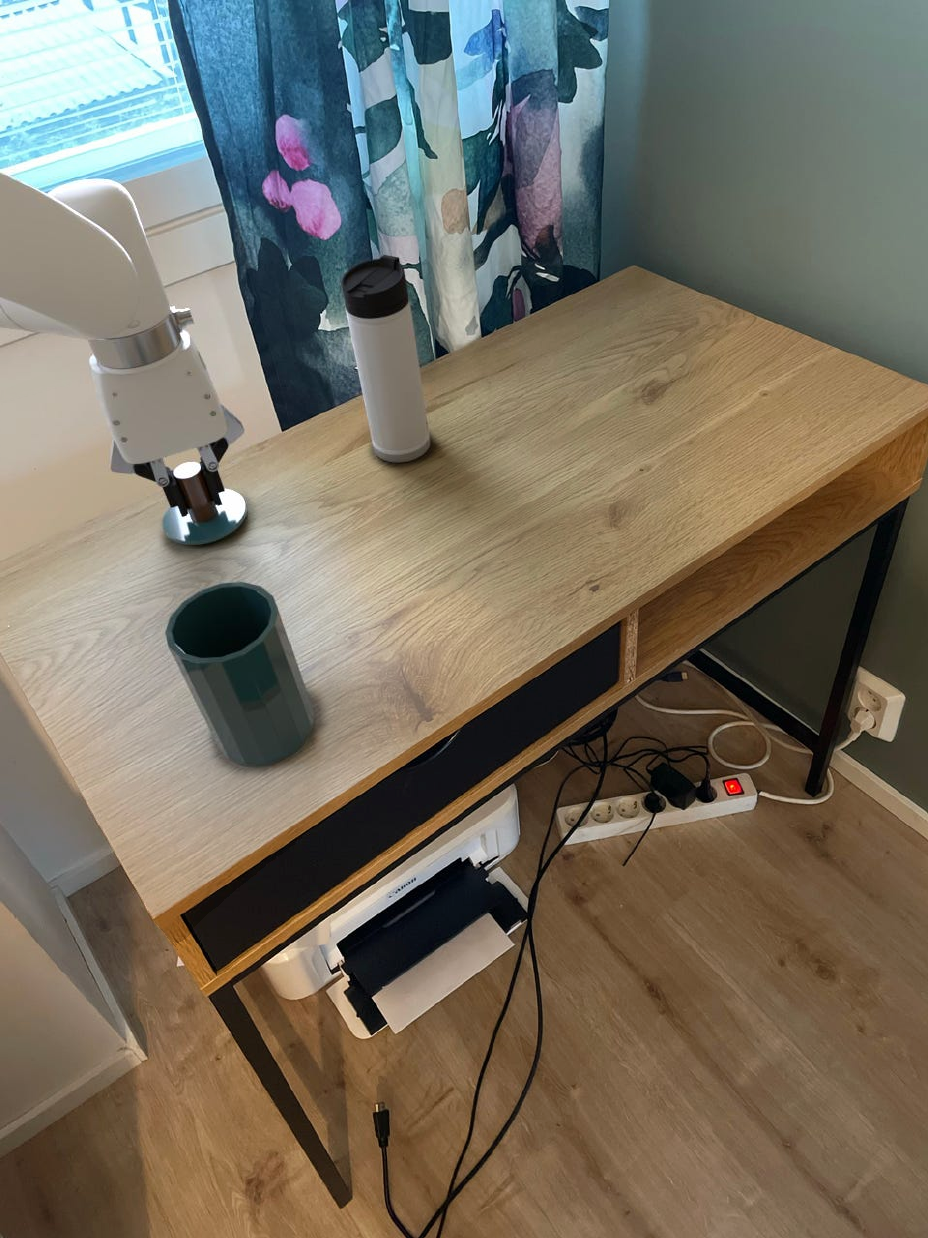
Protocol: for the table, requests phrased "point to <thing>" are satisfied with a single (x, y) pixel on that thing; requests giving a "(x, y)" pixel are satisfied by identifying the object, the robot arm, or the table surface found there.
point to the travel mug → (387, 357)
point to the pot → (242, 672)
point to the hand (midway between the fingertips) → (199, 502)
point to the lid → (202, 509)
